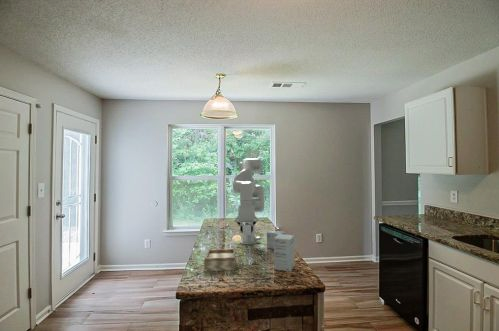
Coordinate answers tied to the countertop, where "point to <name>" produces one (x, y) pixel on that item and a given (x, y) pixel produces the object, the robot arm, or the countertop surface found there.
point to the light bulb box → (272, 238)
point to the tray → (220, 260)
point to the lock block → (246, 228)
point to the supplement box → (284, 252)
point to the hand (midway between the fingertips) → (246, 232)
